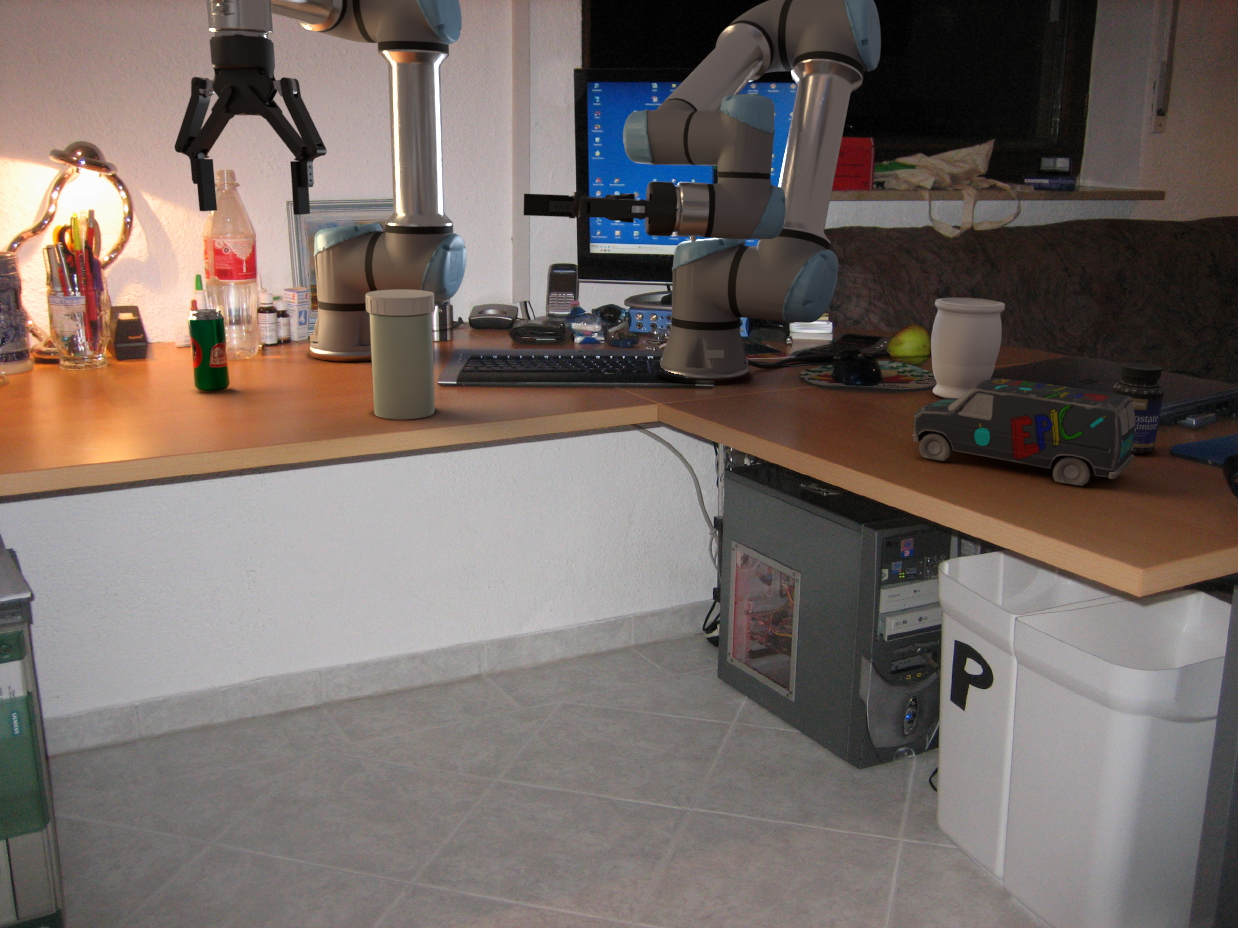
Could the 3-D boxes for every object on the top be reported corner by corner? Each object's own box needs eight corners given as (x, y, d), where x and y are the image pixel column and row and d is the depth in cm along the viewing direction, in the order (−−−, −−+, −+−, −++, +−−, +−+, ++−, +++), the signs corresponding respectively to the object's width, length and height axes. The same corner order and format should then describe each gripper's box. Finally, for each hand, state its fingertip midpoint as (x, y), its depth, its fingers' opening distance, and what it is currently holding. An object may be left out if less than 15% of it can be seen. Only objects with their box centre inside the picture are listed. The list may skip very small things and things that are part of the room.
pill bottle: (1117, 454, 138) (1130, 370, 135) (1094, 442, 144) (1106, 361, 140) (1163, 454, 138) (1177, 370, 135) (1139, 442, 144) (1152, 361, 141)
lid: (428, 316, 144) (428, 298, 144) (358, 315, 144) (358, 297, 144) (439, 306, 153) (439, 290, 153) (374, 305, 153) (373, 288, 153)
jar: (912, 390, 173) (921, 298, 169) (962, 386, 177) (972, 295, 173) (956, 405, 163) (966, 307, 159) (1008, 400, 167) (1020, 304, 163)
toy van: (935, 438, 144) (942, 365, 141) (1133, 472, 130) (1146, 392, 127) (905, 455, 135) (913, 378, 133) (1114, 493, 122) (1127, 408, 119)
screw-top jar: (429, 420, 149) (425, 301, 144) (368, 419, 149) (362, 300, 144) (439, 406, 157) (435, 293, 152) (381, 405, 157) (376, 292, 152)
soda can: (218, 393, 162) (211, 314, 158) (188, 391, 163) (180, 312, 159) (236, 386, 166) (230, 309, 163) (207, 384, 167) (200, 308, 164)
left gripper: (134, 34, 131) (152, 210, 137) (317, 32, 126) (327, 217, 132) (172, 40, 138) (188, 208, 144) (347, 39, 133) (356, 214, 139)
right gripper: (685, 241, 140) (523, 235, 138) (662, 232, 164) (524, 228, 162) (688, 182, 138) (523, 175, 136) (665, 182, 162) (524, 176, 160)
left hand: (254, 213), depth 138 cm, fingers open, 13 cm apart
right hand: (523, 204), depth 149 cm, fingers open, 13 cm apart
